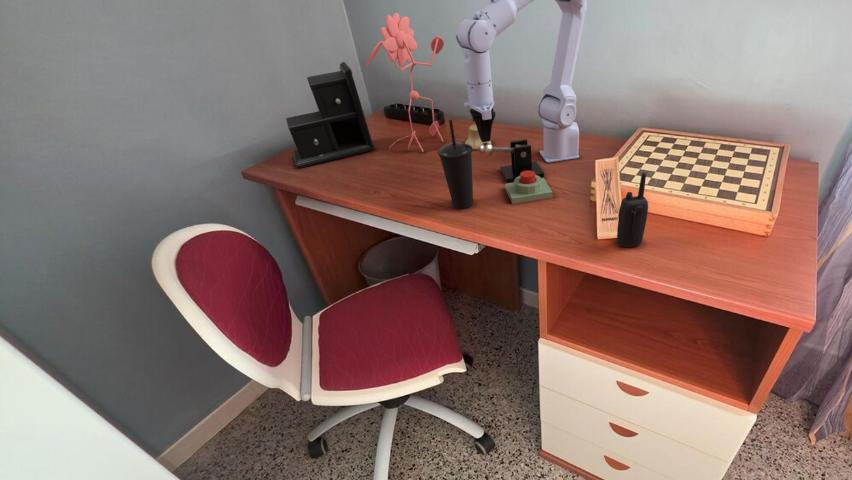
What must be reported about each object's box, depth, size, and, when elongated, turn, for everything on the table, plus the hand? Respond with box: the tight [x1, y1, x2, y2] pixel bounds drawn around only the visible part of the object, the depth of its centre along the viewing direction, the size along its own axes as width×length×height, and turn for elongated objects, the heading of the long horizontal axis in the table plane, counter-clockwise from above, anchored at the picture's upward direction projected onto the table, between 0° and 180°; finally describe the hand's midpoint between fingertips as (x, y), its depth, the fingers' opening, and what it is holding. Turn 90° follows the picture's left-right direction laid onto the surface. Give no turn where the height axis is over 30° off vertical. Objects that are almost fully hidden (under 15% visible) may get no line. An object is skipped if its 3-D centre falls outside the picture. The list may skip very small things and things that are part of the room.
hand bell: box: [464, 108, 492, 150], centre depth 126 cm, size 8×8×16 cm
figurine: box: [365, 12, 457, 153], centre depth 123 cm, size 15×26×35 cm, turn 145°
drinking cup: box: [437, 119, 474, 211], centre depth 96 cm, size 8×8×20 cm
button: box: [520, 171, 535, 184], centre depth 102 cm, size 4×4×2 cm
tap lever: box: [478, 142, 524, 158], centre depth 108 cm, size 12×4×4 cm, turn 102°
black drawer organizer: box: [285, 61, 375, 169], centre depth 125 cm, size 23×11×24 cm, turn 116°
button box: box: [504, 175, 554, 205], centre depth 103 cm, size 10×8×4 cm
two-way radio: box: [616, 172, 649, 248], centre depth 80 cm, size 6×4×15 cm
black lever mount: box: [499, 138, 545, 184], centre depth 110 cm, size 10×8×8 cm
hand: (485, 140), depth 105 cm, fingers closed
